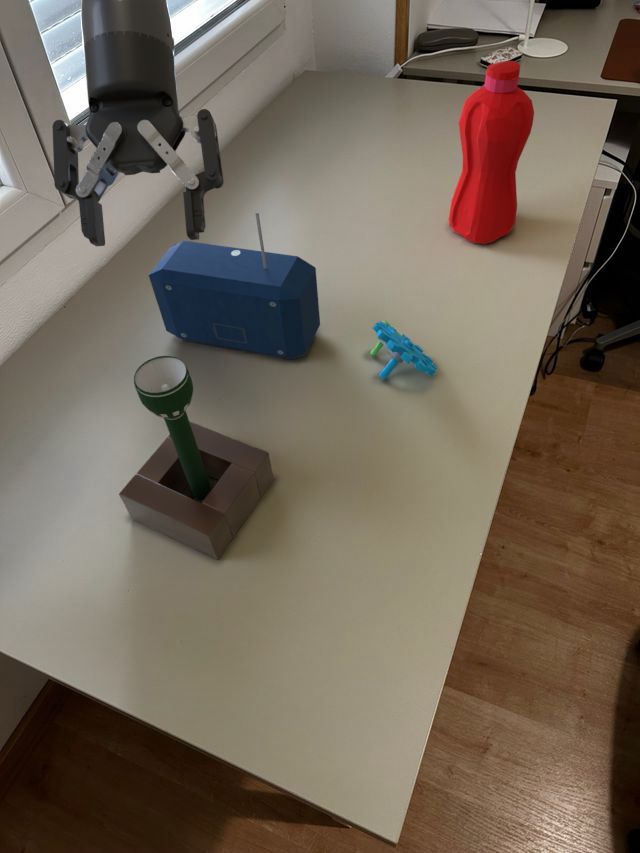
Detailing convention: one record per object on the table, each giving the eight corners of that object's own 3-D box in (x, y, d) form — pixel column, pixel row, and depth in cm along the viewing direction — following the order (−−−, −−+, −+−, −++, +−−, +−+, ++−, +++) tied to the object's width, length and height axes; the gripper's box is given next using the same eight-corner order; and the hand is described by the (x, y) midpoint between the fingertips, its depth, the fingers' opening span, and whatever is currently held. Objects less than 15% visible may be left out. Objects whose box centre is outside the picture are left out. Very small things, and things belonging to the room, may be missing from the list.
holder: (217, 560, 69) (208, 536, 65) (131, 519, 73) (118, 493, 69) (274, 478, 75) (269, 452, 71) (192, 445, 79) (183, 418, 76)
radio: (323, 325, 92) (314, 196, 77) (304, 367, 87) (289, 238, 72) (191, 303, 97) (158, 179, 82) (165, 342, 92) (124, 216, 77)
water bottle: (474, 202, 110) (495, 41, 91) (521, 230, 104) (554, 64, 85) (432, 222, 107) (445, 60, 88) (479, 252, 101) (503, 84, 82)
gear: (453, 377, 81) (400, 347, 76) (423, 412, 84) (369, 385, 78) (415, 333, 89) (365, 303, 84) (389, 366, 92) (337, 338, 86)
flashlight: (220, 474, 76) (182, 349, 61) (230, 508, 73) (193, 385, 58) (178, 487, 75) (129, 363, 60) (186, 522, 72) (136, 400, 57)
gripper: (27, 34, 52) (47, 238, 53) (202, 20, 52) (218, 225, 53) (65, 77, 60) (82, 255, 61) (218, 65, 59) (232, 244, 60)
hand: (145, 241), depth 57 cm, fingers open, 8 cm apart
